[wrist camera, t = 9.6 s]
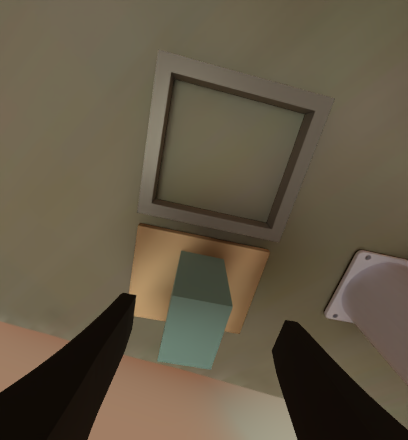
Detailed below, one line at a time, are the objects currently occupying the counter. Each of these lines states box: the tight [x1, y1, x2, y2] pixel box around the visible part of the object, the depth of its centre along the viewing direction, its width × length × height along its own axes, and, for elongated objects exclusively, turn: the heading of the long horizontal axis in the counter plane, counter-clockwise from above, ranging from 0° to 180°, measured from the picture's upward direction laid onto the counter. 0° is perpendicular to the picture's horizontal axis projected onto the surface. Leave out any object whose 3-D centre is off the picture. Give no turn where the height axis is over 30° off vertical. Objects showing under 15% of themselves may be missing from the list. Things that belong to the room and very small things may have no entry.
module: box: [157, 251, 233, 370], centre depth 17 cm, size 4×6×6 cm, turn 167°
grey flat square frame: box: [137, 49, 335, 242], centre depth 16 cm, size 12×11×2 cm
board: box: [129, 223, 270, 334], centre depth 21 cm, size 12×10×1 cm
